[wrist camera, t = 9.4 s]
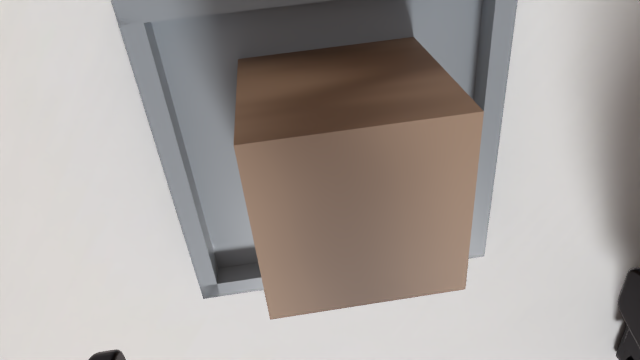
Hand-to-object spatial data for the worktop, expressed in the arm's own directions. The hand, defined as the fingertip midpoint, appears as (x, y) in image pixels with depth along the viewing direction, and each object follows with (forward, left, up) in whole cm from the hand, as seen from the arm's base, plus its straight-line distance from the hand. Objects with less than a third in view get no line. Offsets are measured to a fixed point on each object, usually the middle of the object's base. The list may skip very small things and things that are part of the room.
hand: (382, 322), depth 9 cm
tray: (0, +1, -8) cm, 8 cm away
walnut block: (0, 0, -8) cm, 8 cm away
